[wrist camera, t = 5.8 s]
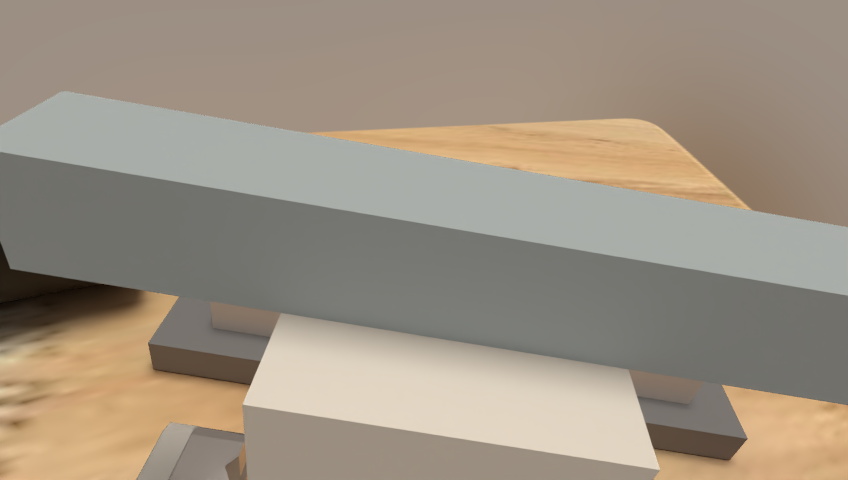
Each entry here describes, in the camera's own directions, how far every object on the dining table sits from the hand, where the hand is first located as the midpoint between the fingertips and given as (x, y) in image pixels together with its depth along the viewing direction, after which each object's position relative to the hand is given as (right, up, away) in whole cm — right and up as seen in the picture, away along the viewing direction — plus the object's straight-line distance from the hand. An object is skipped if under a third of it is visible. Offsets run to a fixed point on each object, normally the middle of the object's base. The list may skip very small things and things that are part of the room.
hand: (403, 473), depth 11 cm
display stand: (-1, -7, +4) cm, 9 cm away
